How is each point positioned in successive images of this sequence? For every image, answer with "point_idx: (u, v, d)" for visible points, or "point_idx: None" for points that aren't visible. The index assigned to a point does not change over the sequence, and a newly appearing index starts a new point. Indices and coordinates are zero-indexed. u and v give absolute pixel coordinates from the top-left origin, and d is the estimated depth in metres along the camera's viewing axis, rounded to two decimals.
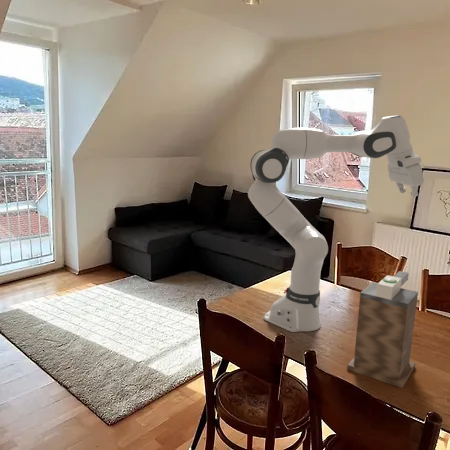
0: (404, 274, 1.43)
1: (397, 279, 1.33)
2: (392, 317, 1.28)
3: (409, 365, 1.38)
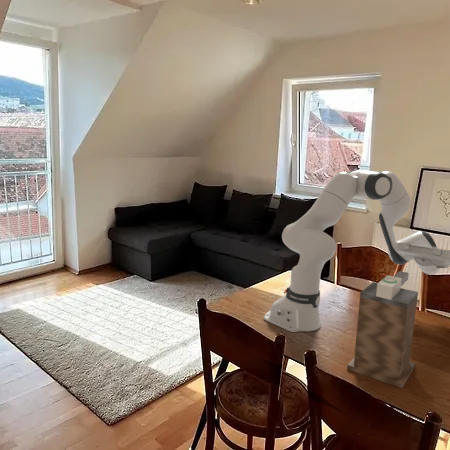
0: (404, 274, 1.43)
1: (397, 279, 1.33)
2: (392, 317, 1.28)
3: (409, 365, 1.38)
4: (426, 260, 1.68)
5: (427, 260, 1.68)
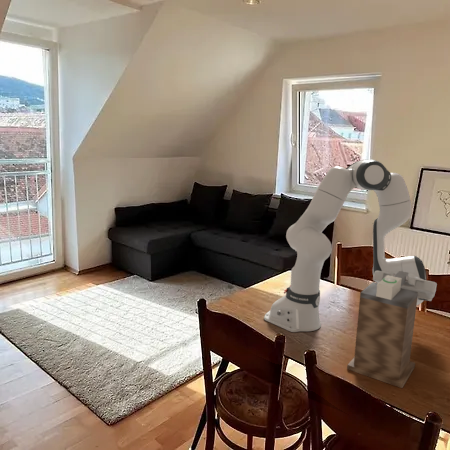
0: (404, 274, 1.43)
1: (397, 279, 1.33)
2: (392, 317, 1.28)
3: (409, 365, 1.38)
4: None
5: None
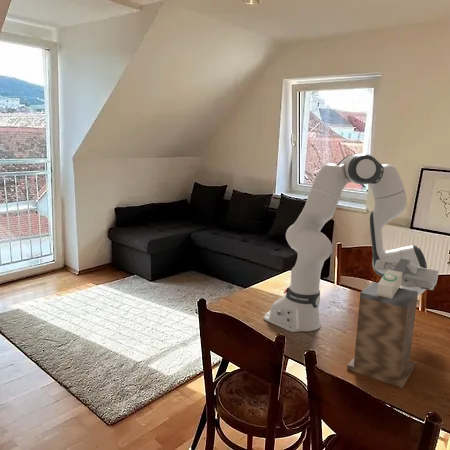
0: (405, 263, 1.42)
1: (398, 274, 1.33)
2: (392, 317, 1.28)
3: (409, 365, 1.38)
4: (409, 280, 1.49)
5: (410, 280, 1.49)
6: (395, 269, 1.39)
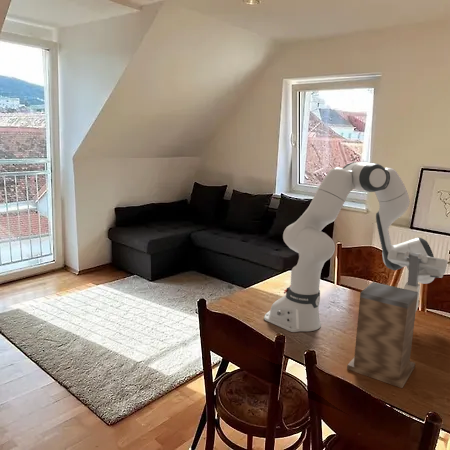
0: (416, 263, 1.55)
1: None
2: (392, 317, 1.28)
3: (409, 365, 1.38)
4: (420, 269, 1.61)
5: (421, 269, 1.61)
6: (410, 276, 1.58)
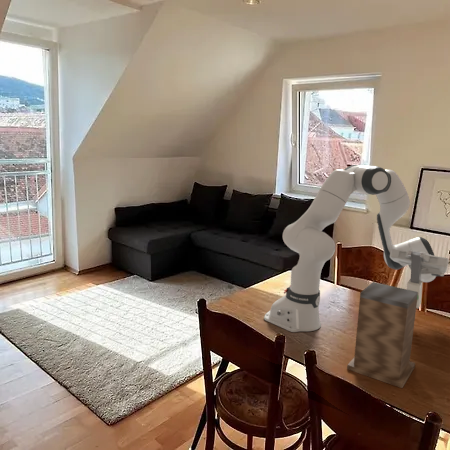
0: (418, 261, 1.58)
1: (417, 290, 1.61)
2: (392, 317, 1.28)
3: (409, 365, 1.38)
4: (421, 267, 1.63)
5: (422, 268, 1.63)
6: (412, 273, 1.61)
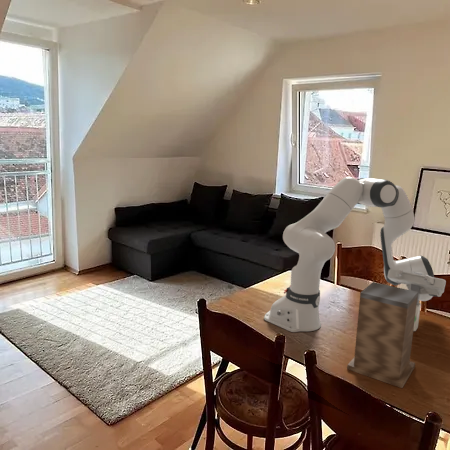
0: None
1: None
2: (392, 317, 1.28)
3: (409, 365, 1.38)
4: None
5: (420, 288, 1.65)
6: None
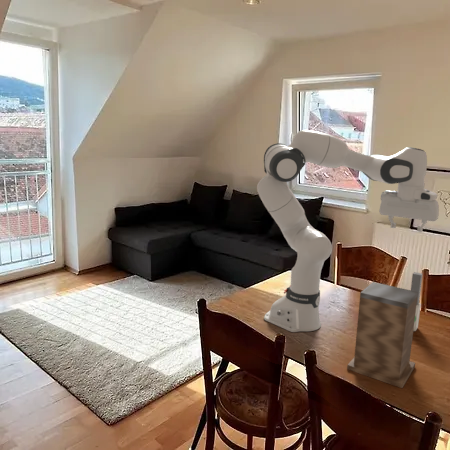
0: (418, 281, 1.63)
1: None
2: (392, 317, 1.28)
3: (409, 365, 1.38)
4: None
5: None
6: None
